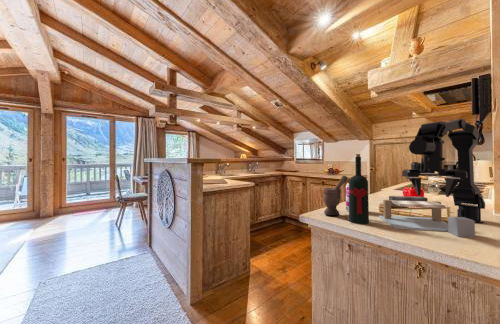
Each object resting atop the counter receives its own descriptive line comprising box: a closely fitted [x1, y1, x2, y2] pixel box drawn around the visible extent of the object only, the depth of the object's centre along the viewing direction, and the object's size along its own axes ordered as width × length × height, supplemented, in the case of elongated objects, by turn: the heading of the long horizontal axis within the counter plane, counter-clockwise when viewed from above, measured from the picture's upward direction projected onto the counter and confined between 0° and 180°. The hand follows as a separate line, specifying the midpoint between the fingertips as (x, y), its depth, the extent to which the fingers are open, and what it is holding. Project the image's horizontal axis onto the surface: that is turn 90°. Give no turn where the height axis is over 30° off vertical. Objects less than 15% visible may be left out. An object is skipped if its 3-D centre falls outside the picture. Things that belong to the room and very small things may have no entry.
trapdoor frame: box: [378, 199, 448, 232], centre depth 94 cm, size 23×19×9 cm
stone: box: [447, 216, 476, 239], centre depth 79 cm, size 5×5×6 cm
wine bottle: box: [348, 153, 370, 225], centre depth 96 cm, size 8×10×30 cm
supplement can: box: [345, 182, 349, 213], centre depth 118 cm, size 8×8×15 cm
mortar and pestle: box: [322, 175, 348, 216], centre depth 112 cm, size 12×9×20 cm
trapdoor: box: [388, 195, 446, 209], centre depth 96 cm, size 16×14×4 cm
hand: (432, 196), depth 84 cm, fingers open, 9 cm apart
